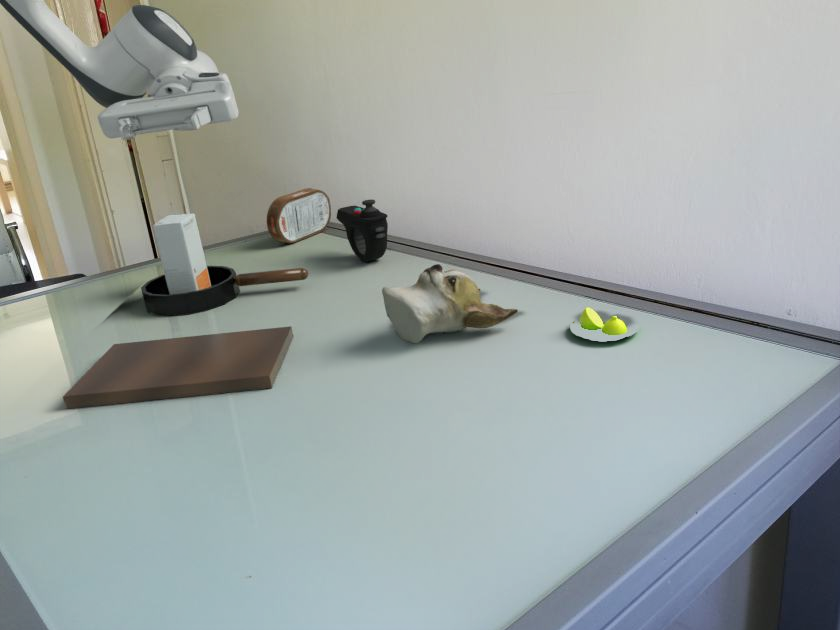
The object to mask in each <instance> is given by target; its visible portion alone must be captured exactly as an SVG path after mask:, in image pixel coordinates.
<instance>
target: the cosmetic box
mask: <svg viewBox="0 0 840 630" xmlns="http://www.w3.org/2000/svg"><path fill="white" fill-rule="evenodd" d="M152 230H153V235H154V240H155V243H156V245H157V246H156V247H157V251H158V254H159V258H160V262H161V266H162V270H163V275H164V274H165V278H166V282H167V286H168V290H169V294H170V295H171V294H181V293H187V292H192V291H197V290H202V289H205V288H208V287H211V283H210V278H209V274H208V270H207V266H208V265H207V261H206V257H205V253H204V248H203V243H202V239H201V235H200V231H199V227H198V222H197V218H196V214H195V213H182V214H181V213H180V214H168V215H167V216H164V217H163V218H161V219H159V220H158V221H157V222H156V223H154V224H153V225H152Z"/></svg>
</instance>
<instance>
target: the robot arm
mask: <svg viewBox="0 0 840 630" xmlns="http://www.w3.org/2000/svg"><path fill="white" fill-rule="evenodd" d="M0 6H1V7H3V8H4V10H6V12H7V13H9V15H10V16H11V17H12V18H13V19H14V20H15V21H16V22H17V23H18V24H20V26H21V27H22V28H23V29H24V30H25V31H26V32H28V33H29V35H31V36H32V37H33V39H35V40H36V41H37V42H38V43H39V44H40V46H42V47H43V48H44V49H45V50H46V51H47V52H48V53H49V54H50V55H51V56H52V57H53V58H54V59H55V60H57V62H58V63H60V64H61V65H62V66H63V68H65V69H66V70H67V71H68V72H69V74H71V75H72V77H73V78H74V79H75V80H76V81H77V83H79V85H80V86H81V87H82V89H84V91H85V92H86V93H87V94H88V95H89V96H90V98H91V99H93V100H94V101H95V102H96V103H97V104H99V105H100V106H102V108H103V107H104V108H105V109H103V110H102V111H101V112H99V114H98V115H97V121H98V123H99V126H100V129H101V131H102V133H103V135H104V136H105V137H106V138H108V139H117V138H122V140H123V141H127V140H134V139H135V138H136V137H137V136H138V135H144V134H153V133H159V132H165V131H173V130H174V131H180V132H182V131H183V132H185V131H189V132H190V131H195V130H199V129H200V127H202V126H206V125H213V124H219V123H227V122H228V123H229V122H232V121H235V120H236V119H238V117H239V114H240V111H239V108H238V104H237V100H236V97H235V93H234V89H233V87H232V83H231V81H230V78H229V77H228V74H227V73H225V72H219V69H218V67H217V64H216V63H215V61H214V60H213V59H212V58H211V57H210V56H209V55H208V54H206V53H205V52H203V51H201V50H200V49H199V50H198V49H197V46H196V43H195V40H194V38H193V37H192V35H191V34H190V33H189V32H188V30H187V29H186V28H185V27H184V25H182V24H181V22H179V21H178V20H177V18H175V17H174V16H173V15H171V14H170V13H169V12H167V11H166V10H165V9H164V10H163V9H162V8H158V7H155V6H151V5H145V4H136V5H135V4H134V5H132V7H131V8H130V9H129V10H128V11H127V12H126V13H125V14H124V15H123V16H122V17H121V18H120V19H119V20H118V22H117V23H116V24H114V26H113V28H112V29H111V30H110V31H109V32H108V33H107V34H106V35H105V36H104V37H103V38H102V39H101V40H100V41H99V43H98V44H97V45H96V46H94V47H93V46H88V45H86V44H85V43H84V42H83V41H82V40H81V39H80V38H79V37H78V36H77V35H76V34H75V32H73V30H71V29H70V28H69V27H68V26H67V25H66V24H65V23H64V22H63V21H62V20H61V19H60V18H59V17H58V16H57V15H56V14H55V13H54V12H53V10H52V9H51V8H50V7H49V6H48V5H47V3H46V1H45V0H0ZM147 92H148V93H147ZM146 94H147V96H146V97H145V95H146Z"/></svg>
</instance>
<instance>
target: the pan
mask: <svg viewBox="0 0 840 630" xmlns="http://www.w3.org/2000/svg"><path fill="white" fill-rule="evenodd" d="M207 270H208V274H209V278H210V283H211V287H208V288H205V289H202V290H197V291H192V292H187V293H181V294H171V295H170V294H169V290H168V286H167V282H166V278H165V274H164V273H163V274H161V275H158V276H157V277H154V278H152V279H150V280H148V281H146V282H145V283H144V284H143V285H142V286H141V287H140V291H141V295H142V299H143V302H144V305H145V308H146V312H147V313H149V314H152V315H154V316H161V317H162V316H163V317H176V316H185V315H186V316H187V315H192V314H196V313H201V312H205V311H206V312H207V311H209V310H213V309H216V308H218V307H221V306H224V305H226V304H227V303H229V302H231V301H233V300H234V299H236V298H237V297H238V296H239V294H240V293H241V289H240V287H247V286H255V285H256V286H258V285H269V284H277V283H286V282H287V283H288V282H297V281H305V280H306V279H307V278H308V277H309V270H308V269H306V268H305V267H297V268H287V269H276V270H275V269H274V270H266V271H257V272H247V273H246V272H245V273H238V274H237V272H236V271H235V269H234V268H232V267H229V266H226V265H225V266H224V265H207Z"/></svg>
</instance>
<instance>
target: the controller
mask: <svg viewBox="0 0 840 630" xmlns="http://www.w3.org/2000/svg"><path fill="white" fill-rule="evenodd" d="M361 204H362V205H363V206H365V207H362V206H358V205H349V206H348V205H347V206H345V207H344V206H343V207H339V208H338V209H337V212H336V220H337V221H338V222H339V223H341V224H342V225H343V227H344V229H345V233H346V236H347V240H348V243H349V245H350V249H352V251H353V253H354V255H355V256H356V257H357V258H358V259H360V260H361V261H363V262H372V261H376V260H379V259H380V258H382V257H383V256H384V255H385V253H386V251H387V248H388V229H389V227H388V226H389V223H388V220H387V218H388V217H389V216H388V214H386V213H385V212H383V211H382V212H381V211H380V210H379V209H378V208H376V207H375V206H374V205H375V204H376V200H375V199H365V200H362V201H361Z"/></svg>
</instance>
